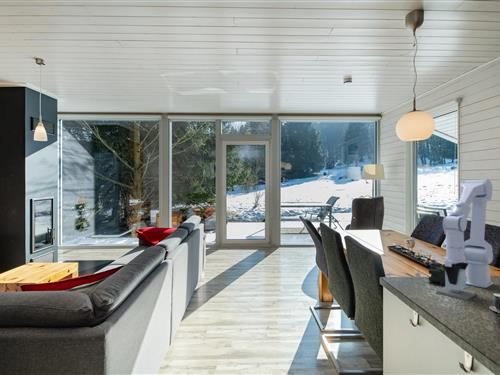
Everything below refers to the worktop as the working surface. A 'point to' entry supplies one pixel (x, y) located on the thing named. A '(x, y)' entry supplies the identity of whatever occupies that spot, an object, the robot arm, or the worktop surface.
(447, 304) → the worktop surface
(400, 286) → the worktop surface
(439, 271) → the end cap
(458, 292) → the post
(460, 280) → the pale blue cube
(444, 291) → the board
